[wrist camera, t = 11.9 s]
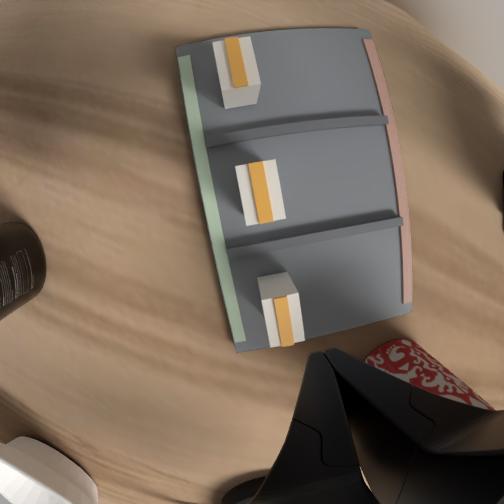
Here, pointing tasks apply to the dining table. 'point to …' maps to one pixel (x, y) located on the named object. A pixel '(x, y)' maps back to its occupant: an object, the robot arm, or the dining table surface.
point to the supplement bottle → (19, 267)
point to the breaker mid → (260, 192)
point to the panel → (304, 180)
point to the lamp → (243, 492)
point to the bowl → (42, 475)
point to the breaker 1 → (237, 71)
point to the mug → (422, 371)
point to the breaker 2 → (281, 309)
